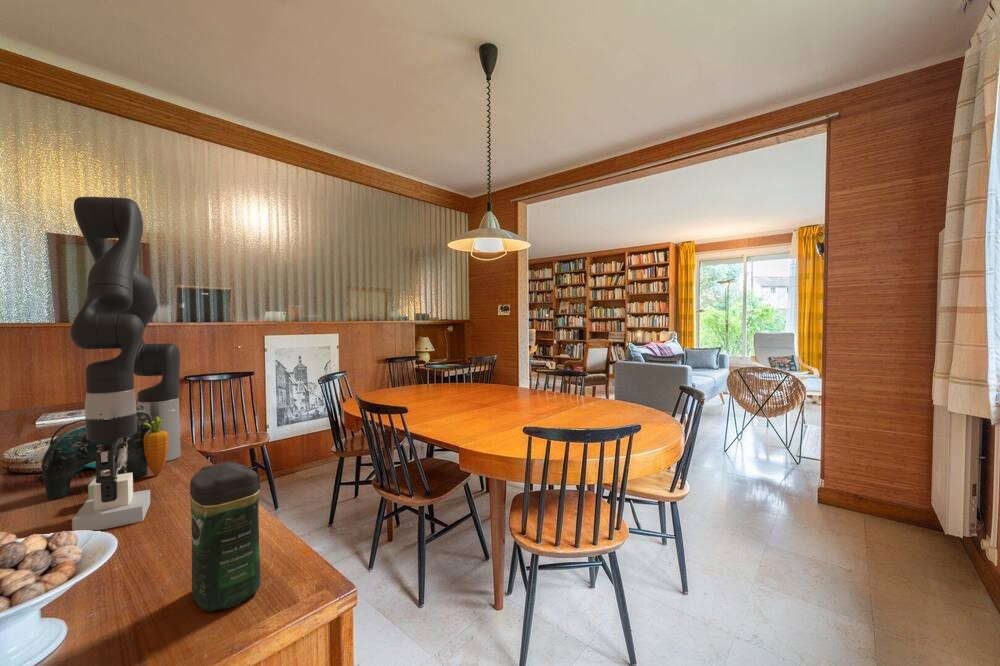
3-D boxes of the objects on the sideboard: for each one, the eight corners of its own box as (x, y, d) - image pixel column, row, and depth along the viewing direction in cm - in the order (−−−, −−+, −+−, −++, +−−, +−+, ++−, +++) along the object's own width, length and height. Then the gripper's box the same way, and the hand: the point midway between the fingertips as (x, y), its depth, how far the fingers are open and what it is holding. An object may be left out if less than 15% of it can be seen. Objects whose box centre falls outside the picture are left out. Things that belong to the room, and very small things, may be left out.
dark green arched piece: (147, 470, 112) (145, 395, 111) (159, 474, 109) (157, 397, 108) (39, 498, 94) (36, 409, 94) (50, 504, 91) (47, 412, 90)
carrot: (158, 479, 105) (157, 420, 105) (139, 479, 105) (137, 419, 105) (174, 472, 110) (172, 415, 110) (155, 471, 110) (154, 415, 110)
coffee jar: (268, 593, 61) (266, 467, 61) (204, 622, 55) (201, 483, 55) (246, 567, 68) (243, 453, 67) (186, 591, 62) (183, 466, 61)
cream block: (100, 501, 85) (100, 477, 85) (133, 495, 88) (132, 472, 88) (94, 510, 81) (93, 485, 81) (128, 504, 84) (127, 480, 84)
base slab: (87, 514, 86) (87, 500, 86) (150, 502, 91) (150, 489, 91) (72, 535, 78) (72, 519, 78) (142, 521, 83) (142, 506, 83)
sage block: (95, 500, 93) (94, 478, 93) (124, 495, 96) (124, 474, 95) (88, 509, 89) (88, 486, 88) (120, 503, 91) (119, 481, 91)
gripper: (95, 409, 88) (97, 486, 88) (74, 423, 76) (77, 512, 76) (141, 405, 92) (144, 479, 92) (129, 417, 80) (131, 502, 80)
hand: (113, 493), depth 84 cm, fingers open, 7 cm apart
